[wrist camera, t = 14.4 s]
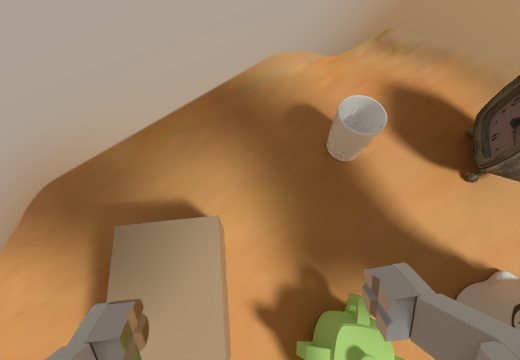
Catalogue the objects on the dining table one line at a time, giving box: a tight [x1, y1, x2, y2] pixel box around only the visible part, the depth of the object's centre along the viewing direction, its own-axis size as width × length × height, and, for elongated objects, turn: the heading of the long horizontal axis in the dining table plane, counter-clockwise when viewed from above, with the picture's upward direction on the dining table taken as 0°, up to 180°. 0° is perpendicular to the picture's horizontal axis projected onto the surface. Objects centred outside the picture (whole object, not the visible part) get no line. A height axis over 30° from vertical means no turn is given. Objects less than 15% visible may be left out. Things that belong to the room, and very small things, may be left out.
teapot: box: [296, 293, 404, 360], centre depth 34 cm, size 12×12×10 cm
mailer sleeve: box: [106, 216, 231, 360], centre depth 37 cm, size 18×14×8 cm
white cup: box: [326, 95, 387, 162], centre depth 48 cm, size 8×8×10 cm
